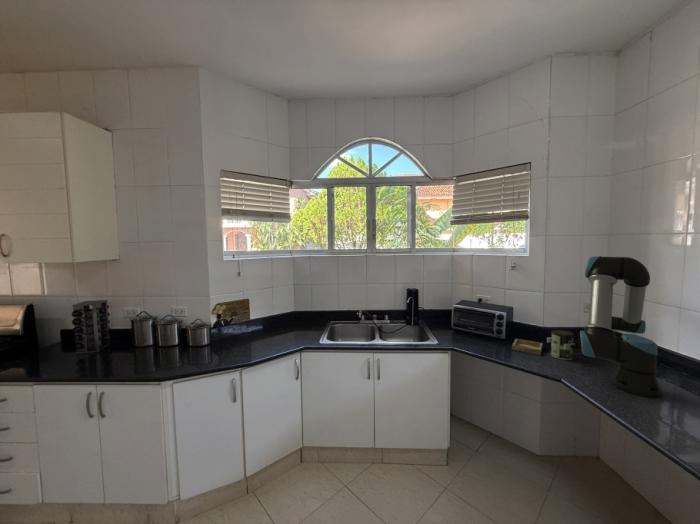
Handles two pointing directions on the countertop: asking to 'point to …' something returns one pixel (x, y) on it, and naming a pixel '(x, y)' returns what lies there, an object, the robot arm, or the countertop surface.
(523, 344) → the oak bay tray
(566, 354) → the coffee can
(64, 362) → the countertop surface
